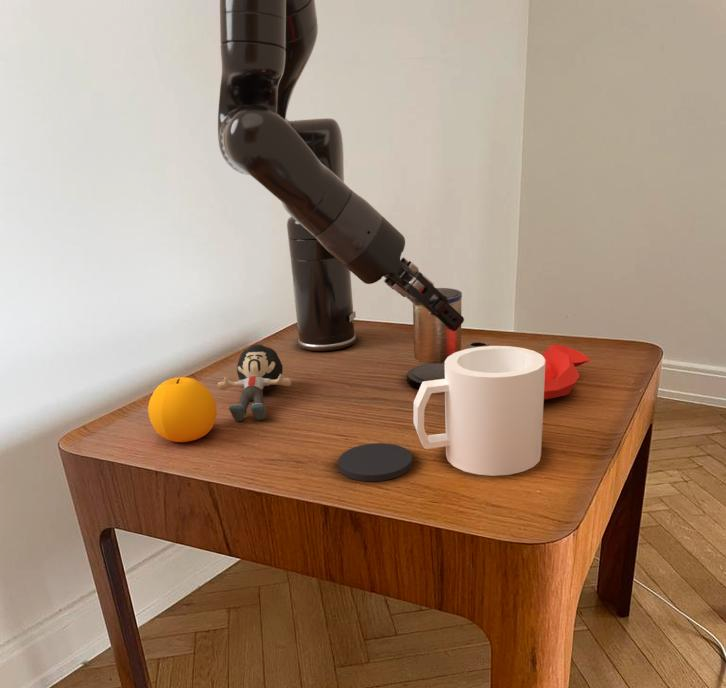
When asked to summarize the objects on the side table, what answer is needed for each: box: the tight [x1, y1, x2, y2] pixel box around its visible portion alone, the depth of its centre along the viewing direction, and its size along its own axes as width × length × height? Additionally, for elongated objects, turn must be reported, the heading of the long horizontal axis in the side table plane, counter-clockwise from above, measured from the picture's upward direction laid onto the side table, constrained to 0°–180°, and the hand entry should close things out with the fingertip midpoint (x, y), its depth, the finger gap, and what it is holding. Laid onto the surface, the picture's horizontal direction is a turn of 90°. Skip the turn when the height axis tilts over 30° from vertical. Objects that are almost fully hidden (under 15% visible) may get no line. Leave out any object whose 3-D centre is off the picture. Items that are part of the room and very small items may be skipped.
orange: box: [147, 376, 218, 443], centre depth 90 cm, size 8×8×8 cm
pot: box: [412, 287, 463, 364], centre depth 100 cm, size 6×6×8 cm
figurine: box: [217, 344, 293, 422], centre depth 100 cm, size 10×7×15 cm
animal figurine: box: [541, 343, 592, 400], centre depth 97 cm, size 12×15×5 cm
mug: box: [412, 345, 546, 477], centre depth 79 cm, size 14×10×11 cm
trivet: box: [337, 442, 413, 482], centre depth 81 cm, size 8×8×1 cm
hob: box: [406, 363, 445, 391], centre depth 103 cm, size 9×9×1 cm
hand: (448, 318), depth 100 cm, fingers closed on pot, 6 cm apart
